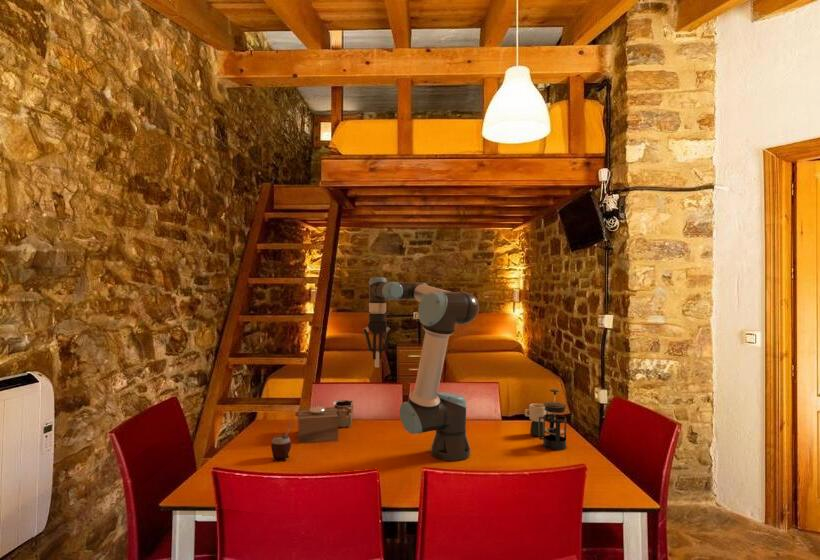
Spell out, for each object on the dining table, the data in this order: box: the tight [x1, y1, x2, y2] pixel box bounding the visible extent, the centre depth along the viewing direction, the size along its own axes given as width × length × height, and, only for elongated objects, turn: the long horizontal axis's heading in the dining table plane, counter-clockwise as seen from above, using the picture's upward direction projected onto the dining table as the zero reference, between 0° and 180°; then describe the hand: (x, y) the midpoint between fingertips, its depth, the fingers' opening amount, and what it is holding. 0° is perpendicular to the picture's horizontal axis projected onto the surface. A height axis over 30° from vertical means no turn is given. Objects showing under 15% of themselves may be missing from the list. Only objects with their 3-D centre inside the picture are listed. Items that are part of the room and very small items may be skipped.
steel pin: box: [309, 405, 326, 415], centre depth 206 cm, size 6×6×12 cm
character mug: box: [524, 403, 552, 437], centre depth 211 cm, size 11×7×13 cm, turn 80°
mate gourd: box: [270, 418, 298, 463], centre depth 179 cm, size 8×8×15 cm
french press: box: [538, 388, 568, 451], centre depth 196 cm, size 12×9×23 cm
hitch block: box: [297, 406, 339, 444], centre depth 206 cm, size 16×16×10 cm
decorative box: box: [332, 399, 354, 428], centre depth 228 cm, size 13×20×10 cm, turn 177°
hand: (376, 366), depth 210 cm, fingers closed
